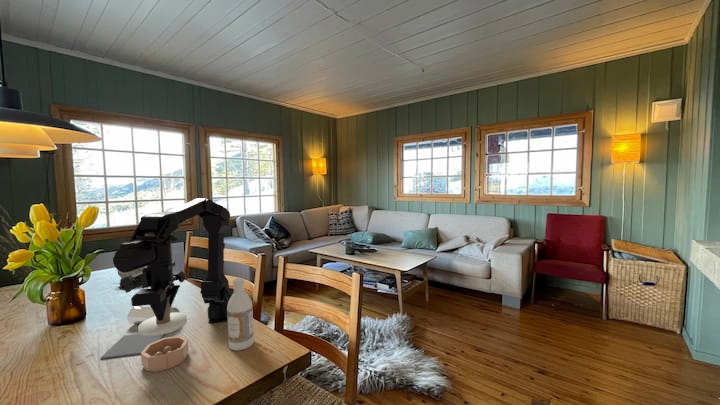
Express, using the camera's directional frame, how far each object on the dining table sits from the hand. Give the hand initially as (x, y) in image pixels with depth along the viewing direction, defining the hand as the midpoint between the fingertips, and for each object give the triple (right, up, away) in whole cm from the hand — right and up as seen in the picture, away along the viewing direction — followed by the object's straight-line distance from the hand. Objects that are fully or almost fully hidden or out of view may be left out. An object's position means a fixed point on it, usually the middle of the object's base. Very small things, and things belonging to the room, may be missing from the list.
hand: (163, 317), depth 80 cm
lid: (0, -2, 0) cm, 2 cm away
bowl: (0, -12, +1) cm, 12 cm away
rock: (-58, -8, +67) cm, 88 cm away
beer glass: (-25, -8, +22) cm, 34 cm away
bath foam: (+18, -12, +8) cm, 23 cm away
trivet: (-14, -12, +9) cm, 20 cm away
